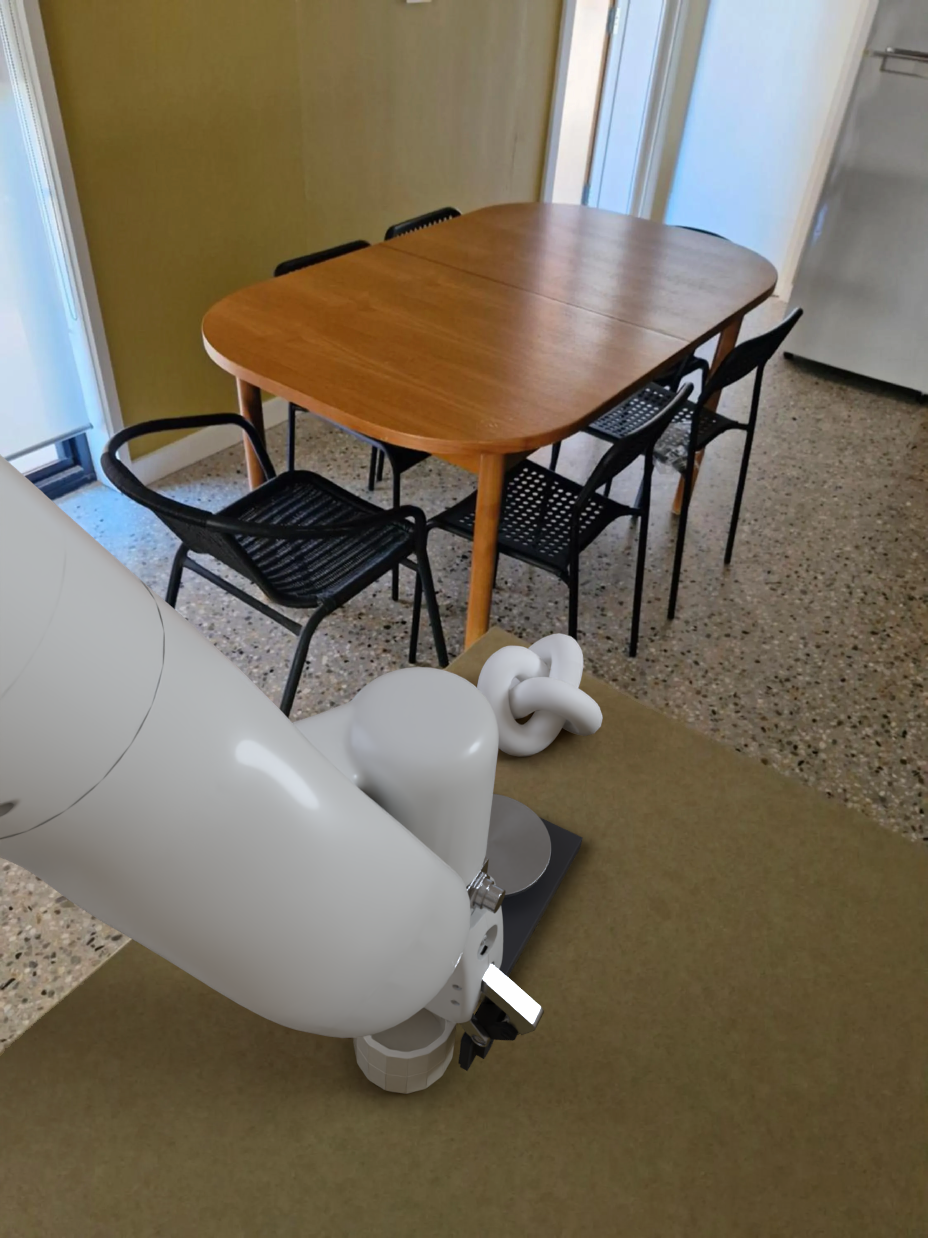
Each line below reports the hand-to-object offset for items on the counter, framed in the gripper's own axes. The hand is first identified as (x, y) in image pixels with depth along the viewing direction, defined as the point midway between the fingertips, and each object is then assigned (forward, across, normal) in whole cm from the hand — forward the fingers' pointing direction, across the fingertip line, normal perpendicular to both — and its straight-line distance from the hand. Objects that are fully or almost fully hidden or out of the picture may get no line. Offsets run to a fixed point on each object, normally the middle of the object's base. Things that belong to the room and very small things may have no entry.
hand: (411, 1012), depth 60 cm
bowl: (+4, 0, +1) cm, 4 cm away
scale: (+4, +3, -13) cm, 14 cm away
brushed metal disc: (+1, +2, -15) cm, 16 cm away
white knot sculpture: (+5, +6, -31) cm, 32 cm away
